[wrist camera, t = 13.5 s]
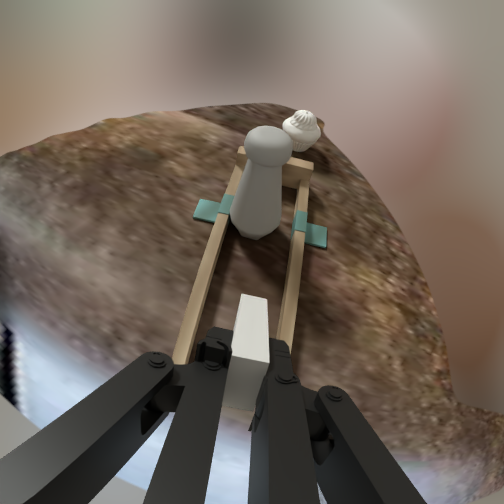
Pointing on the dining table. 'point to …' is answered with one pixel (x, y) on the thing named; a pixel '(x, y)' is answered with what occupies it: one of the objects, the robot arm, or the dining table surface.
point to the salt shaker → (261, 182)
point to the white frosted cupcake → (302, 130)
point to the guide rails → (293, 176)
